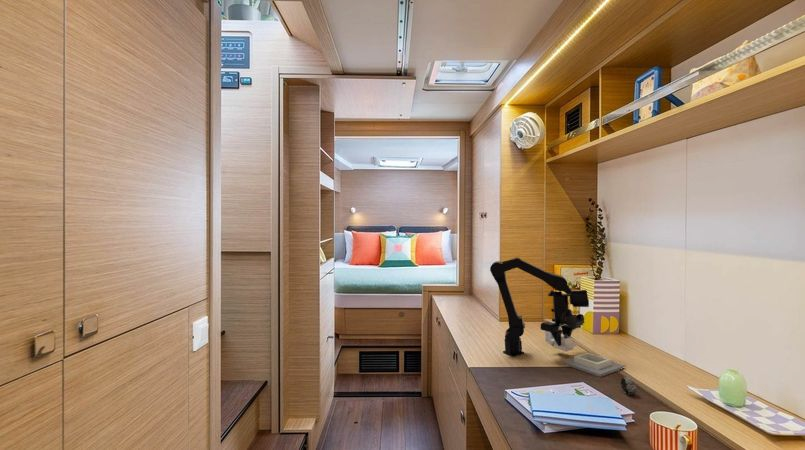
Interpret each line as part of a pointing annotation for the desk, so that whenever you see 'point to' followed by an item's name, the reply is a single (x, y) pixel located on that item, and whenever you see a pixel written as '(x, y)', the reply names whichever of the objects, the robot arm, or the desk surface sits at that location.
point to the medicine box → (549, 336)
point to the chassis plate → (593, 364)
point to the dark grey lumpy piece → (631, 387)
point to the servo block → (564, 343)
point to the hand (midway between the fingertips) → (563, 344)
